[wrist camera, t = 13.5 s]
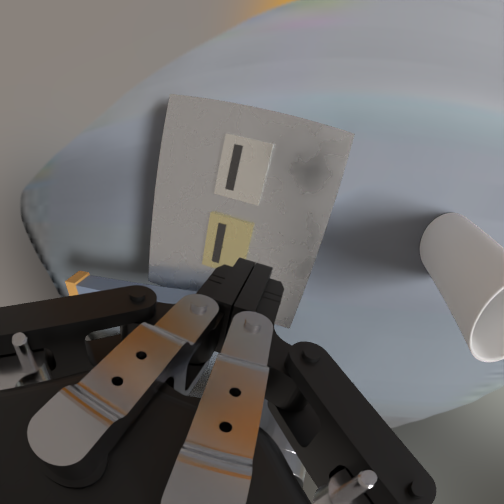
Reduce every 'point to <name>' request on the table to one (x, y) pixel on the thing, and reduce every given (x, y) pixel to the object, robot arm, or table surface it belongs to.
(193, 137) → the chassis
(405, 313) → the table surface
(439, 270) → the cup
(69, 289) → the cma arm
